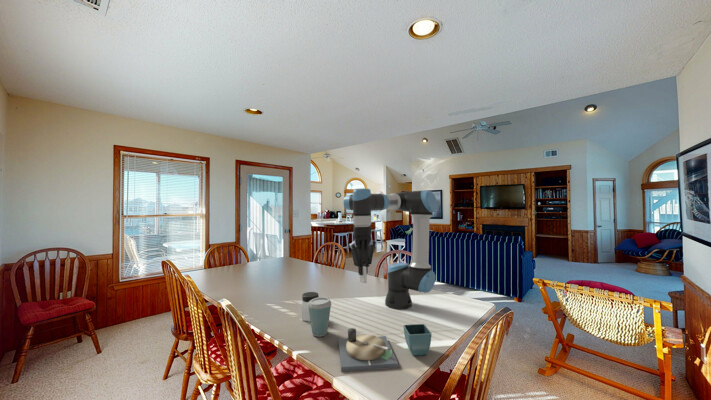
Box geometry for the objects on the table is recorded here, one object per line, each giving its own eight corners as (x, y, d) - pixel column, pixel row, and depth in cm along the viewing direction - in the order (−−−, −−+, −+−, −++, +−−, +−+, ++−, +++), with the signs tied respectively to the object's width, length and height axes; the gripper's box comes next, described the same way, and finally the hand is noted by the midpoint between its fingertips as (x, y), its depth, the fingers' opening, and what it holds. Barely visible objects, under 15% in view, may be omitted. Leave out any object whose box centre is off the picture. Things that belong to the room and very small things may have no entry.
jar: (305, 323, 133) (305, 298, 133) (299, 317, 140) (298, 293, 140) (322, 318, 138) (322, 294, 138) (315, 313, 145) (315, 290, 145)
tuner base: (385, 339, 116) (385, 335, 116) (398, 367, 96) (398, 362, 96) (338, 342, 114) (338, 338, 114) (341, 371, 94) (341, 366, 94)
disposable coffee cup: (311, 341, 115) (310, 305, 115) (305, 330, 125) (305, 297, 125) (334, 336, 119) (334, 301, 120) (327, 326, 129) (327, 294, 130)
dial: (394, 346, 108) (394, 330, 108) (379, 365, 94) (379, 348, 95) (357, 336, 116) (357, 322, 116) (338, 353, 102) (338, 337, 103)
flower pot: (403, 346, 110) (402, 324, 111) (424, 345, 111) (424, 323, 111) (409, 359, 102) (409, 334, 102) (432, 357, 102) (432, 333, 103)
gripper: (368, 224, 121) (369, 277, 121) (344, 226, 114) (345, 283, 114) (379, 225, 115) (380, 281, 115) (355, 227, 108) (356, 287, 108)
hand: (363, 282), depth 115 cm, fingers closed
